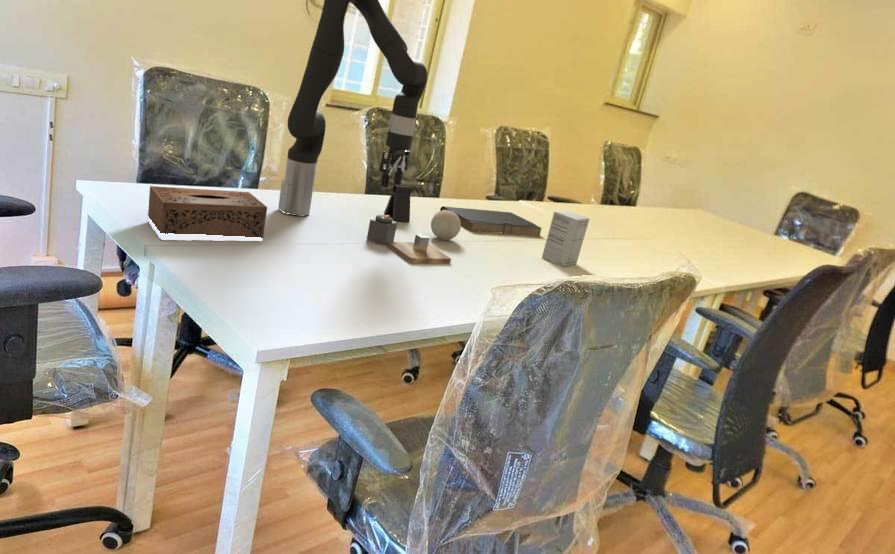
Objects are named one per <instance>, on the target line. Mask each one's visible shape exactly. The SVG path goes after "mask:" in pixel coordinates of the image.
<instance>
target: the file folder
mask: <svg viewBox="0 0 895 554" xmlns="http://www.w3.org/2000/svg"><path fill="white" fill-rule="evenodd" d="M442 210H450V211H452V212H454V213H455V214H457V216H458V217H459V219H460V222H461V225H462V226H461V227H463V228H464V229H467V231H470V232H476V231H482V232H481V233H490V232H502V233H501V234H508V233H510V235H512V234H511V233H515V234H514V235H526V234H529V235H528V236H537V235H539V236H540V235H541V233H542V232H541V231H542V229H543V227H540V226H539V225H537V224H535V223H533V222H531V221H530V220H527V219H526V218H523V217H521V216H519V215H517V214H515V213H514V212H510V211H497V210H487V209H477V208H476V209H475V208H466V207H465V208H463V207H454V206H453V207H452V206H445V205H444V206H443V205H442V206H441V207H440V209H439V211H442ZM539 236H538V237H539Z"/></svg>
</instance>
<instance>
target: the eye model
mask: <svg viewBox="0 0 895 554" xmlns="http://www.w3.org/2000/svg"><path fill="white" fill-rule="evenodd" d="M430 228H431V232H432V234H433V235H434V236H435V237H437V238H438V239H440V240H442V241H443V240H444V241H448V240H449V241H450V240H452V239H454V238H455V237H457V236H458V234H459V232H460V231H461V228H462V226H461V222H460V219H459V217H458V216H457V214H455V213H454V212H452V211H450V210H442V211H440V210H439V211H438V212H436V213H435V214H434V215H433V217H432V219H431V222H430Z"/></svg>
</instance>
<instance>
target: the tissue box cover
mask: <svg viewBox="0 0 895 554" xmlns="http://www.w3.org/2000/svg"><path fill="white" fill-rule="evenodd" d="M267 210H268V206H266V205H265V203H262V201H260V200H259V199H258V198H257V197H256V196H254V195H253V194H252V193H251V192H249V191H238V190H237V191H236V190H219V189H203V188H189V187H187V188H186V187H171V186H170V187H169V186H158V185H157V186H156V185H155V186H153V185H150V186H149V196H148V210H147V211H148V212H147V213H148V214H147V217H148V216H149V218H150V219H151V220H152V222H153V223H154V224H155V226H156V227H157V229H158V230H159V231H160V233H165V234H166V233H167V234H168V233H174V234H206V235H223V236H245V237H261V238H263V239H264V235H265V230H266V229H265V228H266V220H267V212H268V211H267Z"/></svg>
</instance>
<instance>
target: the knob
mask: <svg viewBox="0 0 895 554" xmlns="http://www.w3.org/2000/svg"><path fill="white" fill-rule="evenodd" d="M397 226H398V222H396V221H393V219H392V218H391V217H389V215H385V214H383V215H382V214H377V215H375V217H374V218H370V219H369V224H368V229H367V235H366V240H367V239H368V240H367V241H369V240H371V241H370V242H372V241H374V242H373V243H375V242H376V243H375V244H378V243H379V245H381V244H382V245H381V246H384V245H385V246H388V242H395V236H396V231H397Z"/></svg>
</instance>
